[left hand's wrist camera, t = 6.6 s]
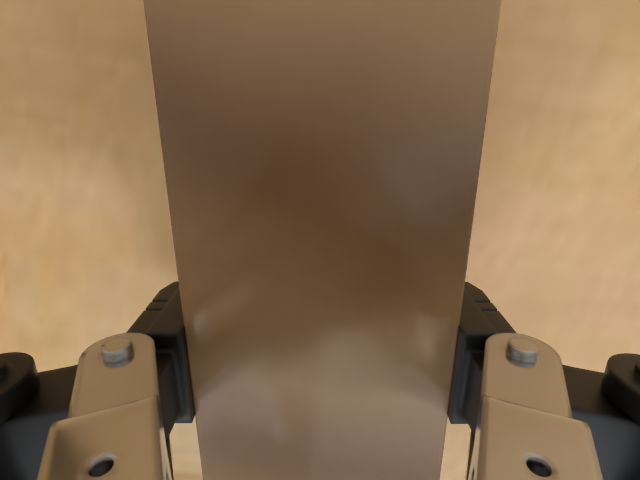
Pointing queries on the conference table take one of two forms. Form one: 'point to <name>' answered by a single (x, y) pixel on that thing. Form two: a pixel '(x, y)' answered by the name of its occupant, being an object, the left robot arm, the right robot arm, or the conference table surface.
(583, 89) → the conference table surface
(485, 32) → the cabinet
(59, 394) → the left robot arm
